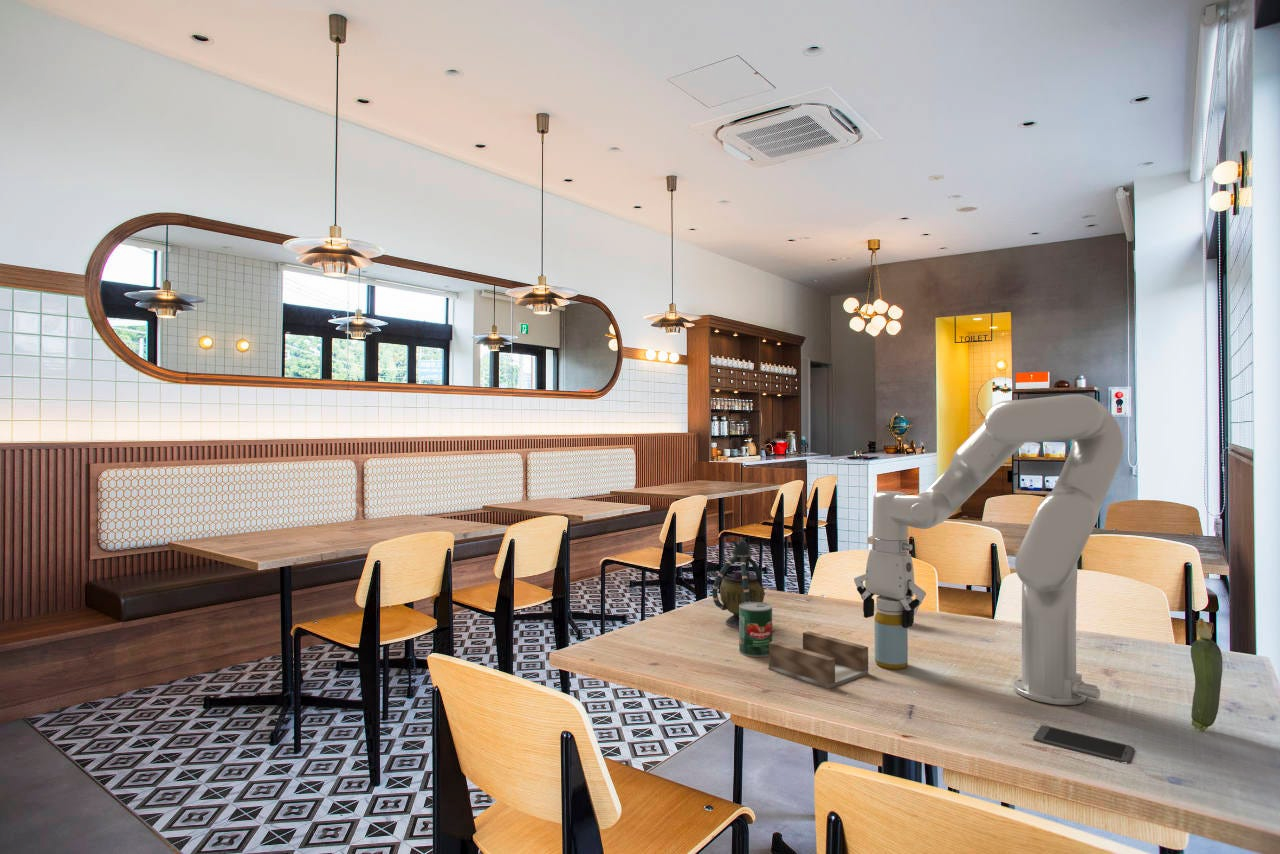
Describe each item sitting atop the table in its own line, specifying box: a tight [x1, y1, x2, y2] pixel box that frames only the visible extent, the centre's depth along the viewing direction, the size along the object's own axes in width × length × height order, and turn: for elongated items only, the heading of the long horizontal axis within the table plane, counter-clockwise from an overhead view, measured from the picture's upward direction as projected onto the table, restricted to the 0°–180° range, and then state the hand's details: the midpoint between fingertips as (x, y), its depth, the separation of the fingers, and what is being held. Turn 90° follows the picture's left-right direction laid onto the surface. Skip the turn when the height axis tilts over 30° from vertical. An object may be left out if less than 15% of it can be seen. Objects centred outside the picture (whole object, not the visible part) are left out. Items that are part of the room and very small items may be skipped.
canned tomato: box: [738, 602, 773, 658], centre depth 172 cm, size 8×8×11 cm
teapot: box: [711, 538, 766, 629], centre depth 200 cm, size 12×25×23 cm, turn 151°
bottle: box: [874, 595, 909, 670], centre depth 162 cm, size 7×7×15 cm
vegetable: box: [1190, 617, 1223, 732], centre depth 126 cm, size 4×4×20 cm
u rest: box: [768, 630, 869, 689], centre depth 158 cm, size 16×14×6 cm
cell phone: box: [1032, 724, 1135, 764], centre depth 121 cm, size 7×14×1 cm, turn 49°
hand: (887, 621), depth 163 cm, fingers open, 9 cm apart
